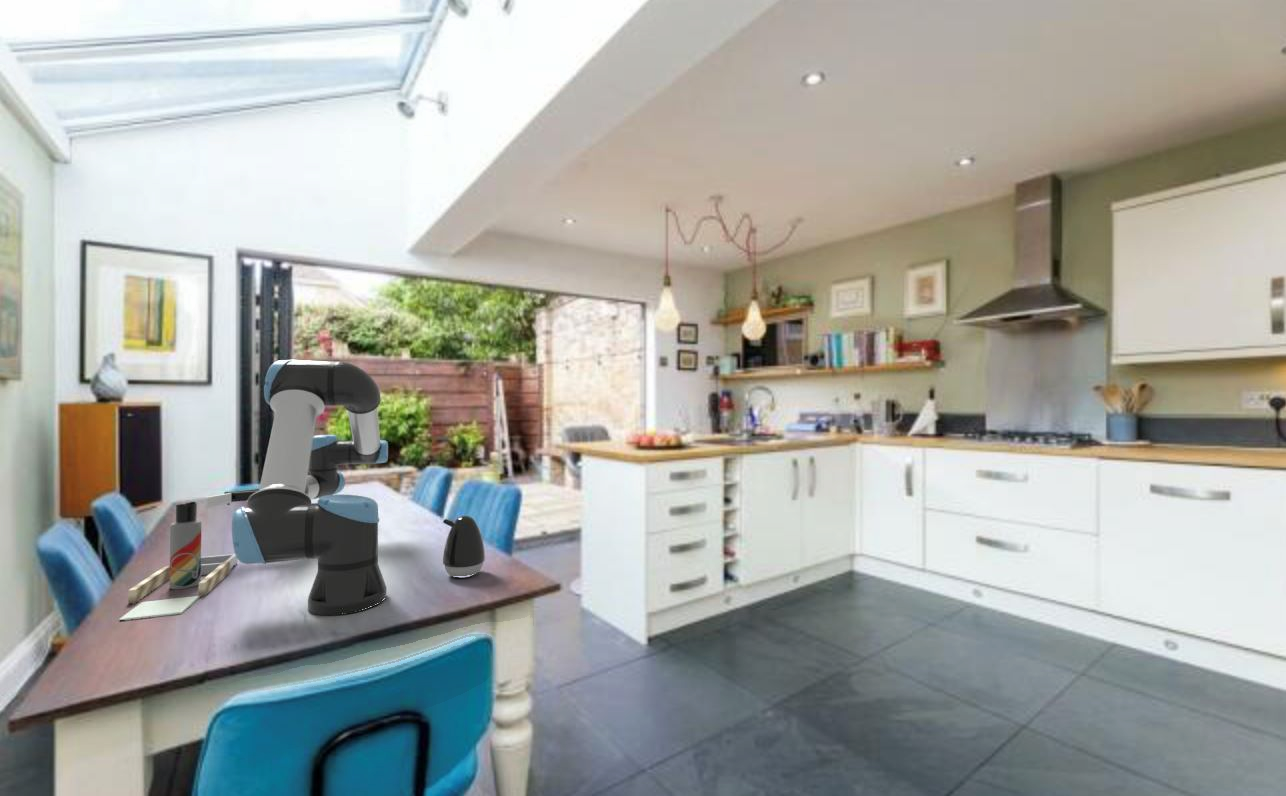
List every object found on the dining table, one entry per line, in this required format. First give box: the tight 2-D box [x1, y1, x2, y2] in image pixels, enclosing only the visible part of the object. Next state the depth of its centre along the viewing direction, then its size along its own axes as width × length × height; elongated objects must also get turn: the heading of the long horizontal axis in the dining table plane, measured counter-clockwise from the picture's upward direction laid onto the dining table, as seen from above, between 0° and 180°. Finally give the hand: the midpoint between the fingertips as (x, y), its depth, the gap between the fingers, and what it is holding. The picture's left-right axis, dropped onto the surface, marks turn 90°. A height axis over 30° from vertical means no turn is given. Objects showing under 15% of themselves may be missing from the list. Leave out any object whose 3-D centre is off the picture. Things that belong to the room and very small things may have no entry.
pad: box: [118, 595, 201, 621], centre depth 114 cm, size 10×10×1 cm
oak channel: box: [127, 561, 231, 604], centre depth 127 cm, size 18×13×3 cm
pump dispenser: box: [442, 515, 486, 577], centre depth 137 cm, size 10×10×15 cm
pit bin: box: [201, 553, 238, 576], centre depth 139 cm, size 9×12×2 cm
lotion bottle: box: [169, 501, 202, 590], centre depth 128 cm, size 6×6×20 cm
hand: (226, 504), depth 138 cm, fingers open, 13 cm apart
